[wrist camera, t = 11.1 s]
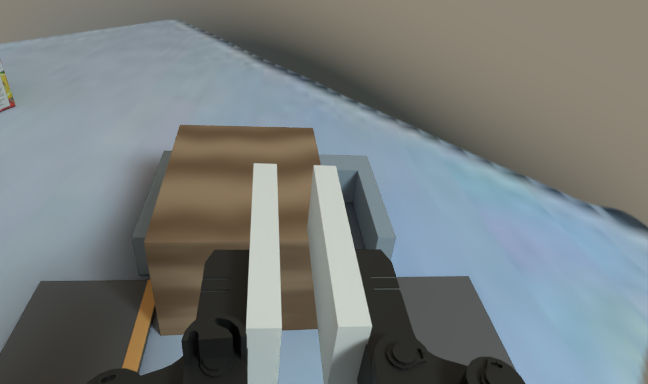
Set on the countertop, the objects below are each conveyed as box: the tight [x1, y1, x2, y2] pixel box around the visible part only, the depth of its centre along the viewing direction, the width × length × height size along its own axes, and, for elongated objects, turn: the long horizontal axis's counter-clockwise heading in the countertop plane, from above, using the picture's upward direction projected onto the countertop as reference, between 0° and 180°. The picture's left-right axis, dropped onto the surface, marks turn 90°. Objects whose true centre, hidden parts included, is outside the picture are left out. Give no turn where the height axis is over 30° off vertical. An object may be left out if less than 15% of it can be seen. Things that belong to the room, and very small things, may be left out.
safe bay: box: [132, 151, 396, 275], centre depth 43 cm, size 14×21×4 cm, turn 96°
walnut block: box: [144, 125, 321, 335], centre depth 38 cm, size 16×12×9 cm
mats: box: [0, 276, 516, 384], centre depth 33 cm, size 12×35×1 cm, turn 96°
